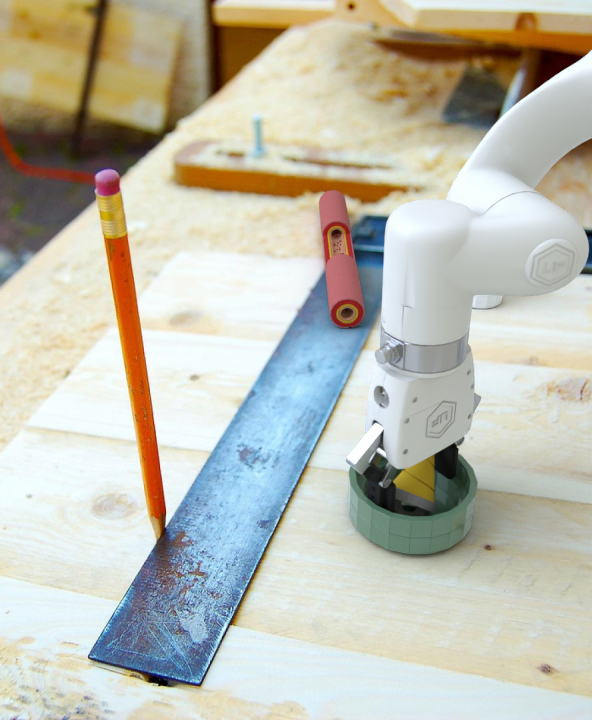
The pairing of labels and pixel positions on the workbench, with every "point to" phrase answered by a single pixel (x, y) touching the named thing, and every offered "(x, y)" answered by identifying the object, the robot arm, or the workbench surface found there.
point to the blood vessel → (340, 262)
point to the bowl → (416, 530)
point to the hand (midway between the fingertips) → (411, 488)
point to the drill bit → (416, 489)
